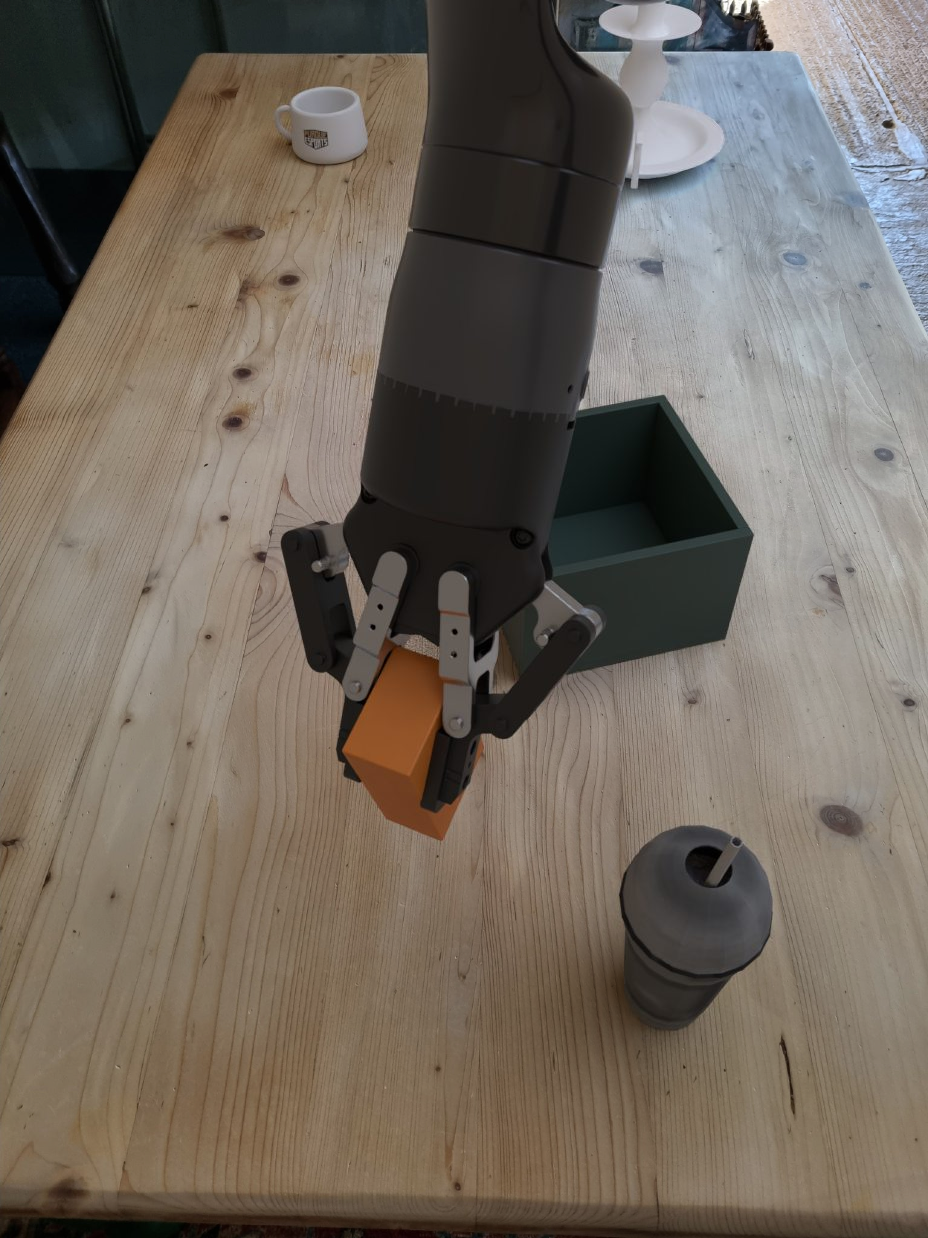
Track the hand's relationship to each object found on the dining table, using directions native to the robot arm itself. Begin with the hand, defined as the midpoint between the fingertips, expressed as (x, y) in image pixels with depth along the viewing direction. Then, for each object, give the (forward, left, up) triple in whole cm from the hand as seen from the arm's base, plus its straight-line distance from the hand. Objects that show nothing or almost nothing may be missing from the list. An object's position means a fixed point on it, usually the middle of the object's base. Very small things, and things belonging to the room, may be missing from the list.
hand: (399, 786), depth 42 cm
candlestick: (+90, -47, -21) cm, 104 cm away
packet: (+2, -2, -4) cm, 5 cm away
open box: (+26, -19, -20) cm, 38 cm away
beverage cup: (-5, -13, -21) cm, 25 cm away
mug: (+107, -11, -21) cm, 110 cm away
